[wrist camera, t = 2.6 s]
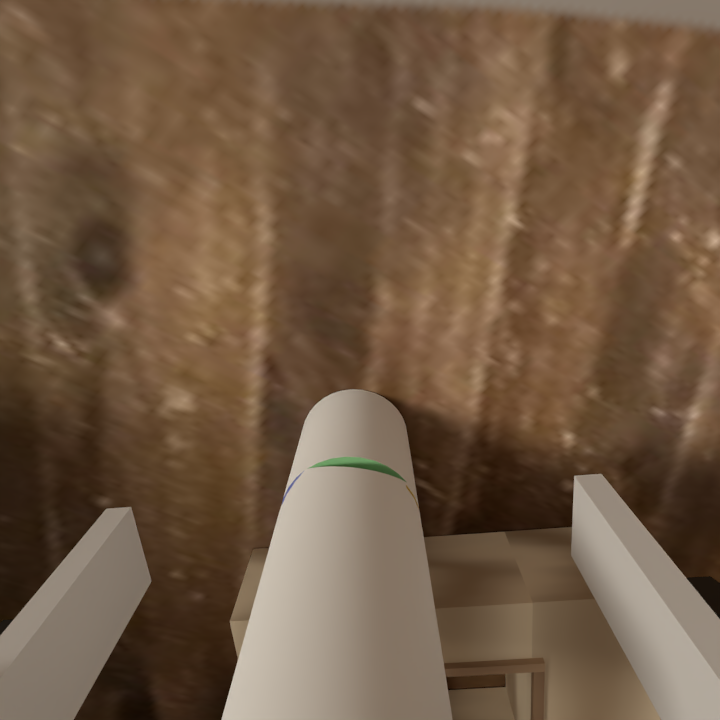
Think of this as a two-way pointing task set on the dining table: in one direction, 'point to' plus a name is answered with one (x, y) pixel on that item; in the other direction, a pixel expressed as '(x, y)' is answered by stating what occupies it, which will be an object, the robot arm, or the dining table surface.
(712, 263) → the dining table surface
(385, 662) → the tube
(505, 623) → the socket board
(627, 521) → the robot arm
